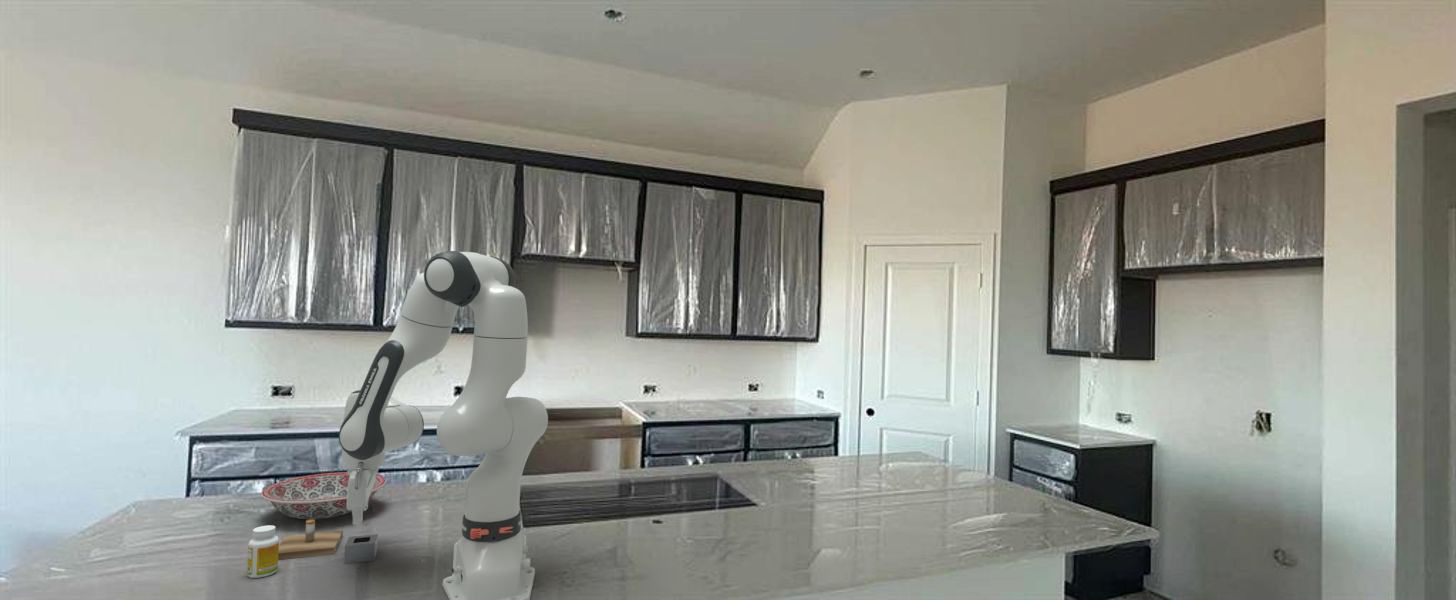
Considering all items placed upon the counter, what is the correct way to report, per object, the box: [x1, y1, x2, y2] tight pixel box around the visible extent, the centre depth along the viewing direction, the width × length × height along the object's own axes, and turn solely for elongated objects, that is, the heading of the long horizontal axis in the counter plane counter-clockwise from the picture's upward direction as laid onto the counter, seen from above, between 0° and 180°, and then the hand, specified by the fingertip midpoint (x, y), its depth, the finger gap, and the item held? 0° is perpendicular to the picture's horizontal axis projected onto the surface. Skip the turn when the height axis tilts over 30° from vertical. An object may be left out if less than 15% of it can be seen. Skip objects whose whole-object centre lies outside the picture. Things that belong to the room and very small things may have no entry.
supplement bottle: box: [246, 524, 280, 579], centre depth 138 cm, size 5×5×10 cm
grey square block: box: [343, 533, 379, 565], centre depth 148 cm, size 6×6×4 cm
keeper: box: [278, 519, 344, 561], centre depth 152 cm, size 12×12×6 cm
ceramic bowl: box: [260, 471, 387, 520], centre depth 176 cm, size 29×29×8 cm
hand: (360, 516), depth 148 cm, fingers open, 8 cm apart
